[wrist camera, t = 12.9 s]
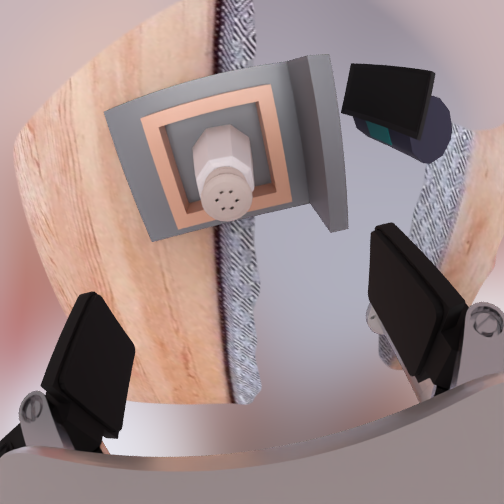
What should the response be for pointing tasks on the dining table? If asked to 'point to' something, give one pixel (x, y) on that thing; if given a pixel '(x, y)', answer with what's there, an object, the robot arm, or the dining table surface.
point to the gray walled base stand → (249, 123)
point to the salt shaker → (224, 172)
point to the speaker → (398, 109)
